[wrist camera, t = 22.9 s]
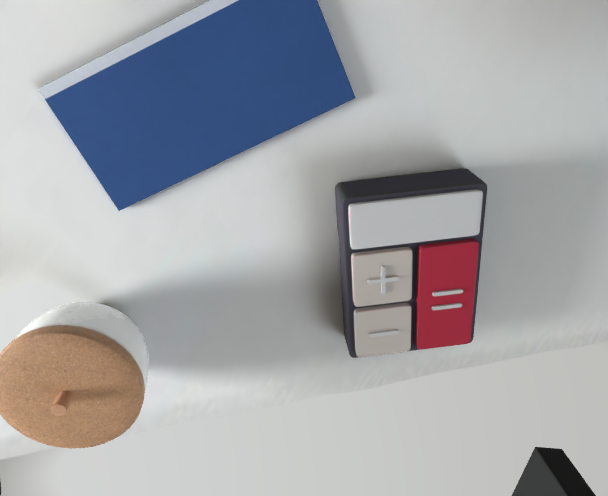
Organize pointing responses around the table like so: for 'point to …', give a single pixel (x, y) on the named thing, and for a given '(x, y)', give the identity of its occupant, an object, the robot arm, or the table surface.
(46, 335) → the trinket box
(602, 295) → the table surface
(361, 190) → the calculator
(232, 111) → the blue book
